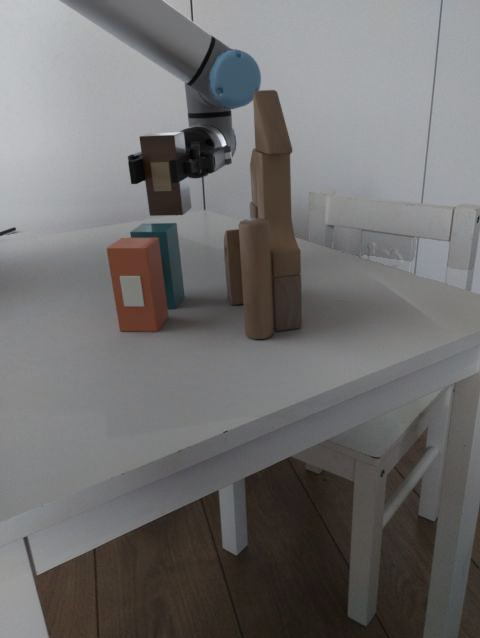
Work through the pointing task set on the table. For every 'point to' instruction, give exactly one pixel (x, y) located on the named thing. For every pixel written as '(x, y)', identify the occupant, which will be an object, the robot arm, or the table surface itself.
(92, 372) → the table surface
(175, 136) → the walnut letter block
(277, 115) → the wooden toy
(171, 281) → the teal letter block
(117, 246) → the terracotta letter block
